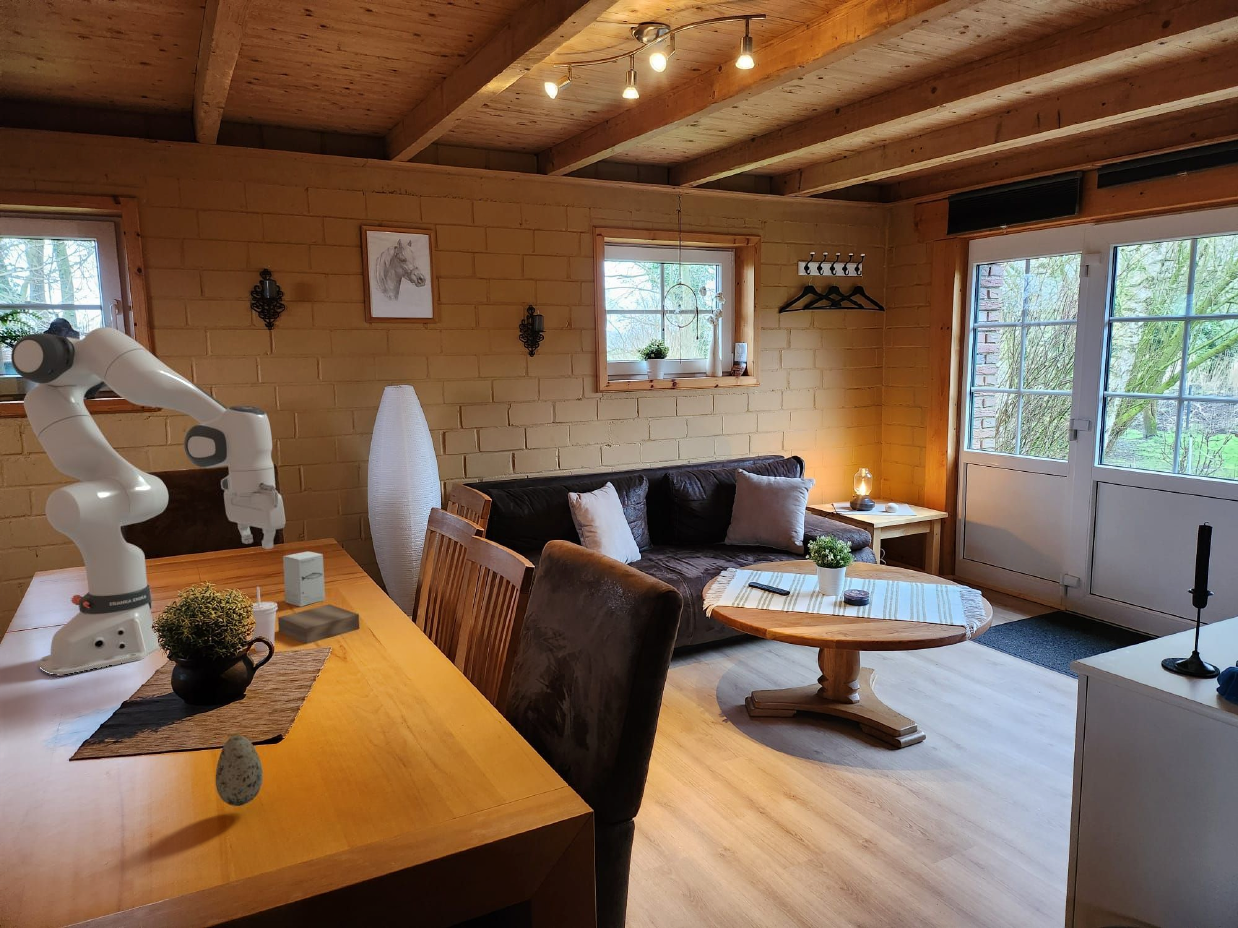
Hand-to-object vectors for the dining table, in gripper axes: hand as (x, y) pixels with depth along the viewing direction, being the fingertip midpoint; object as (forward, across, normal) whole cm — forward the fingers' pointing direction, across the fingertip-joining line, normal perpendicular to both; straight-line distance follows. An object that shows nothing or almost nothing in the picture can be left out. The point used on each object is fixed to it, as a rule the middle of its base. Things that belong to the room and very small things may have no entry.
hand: (257, 545), depth 173 cm
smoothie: (+23, 0, 0) cm, 23 cm away
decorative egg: (+24, -60, +32) cm, 72 cm away
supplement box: (+23, +27, -24) cm, 43 cm away
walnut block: (+24, +2, -14) cm, 27 cm away
